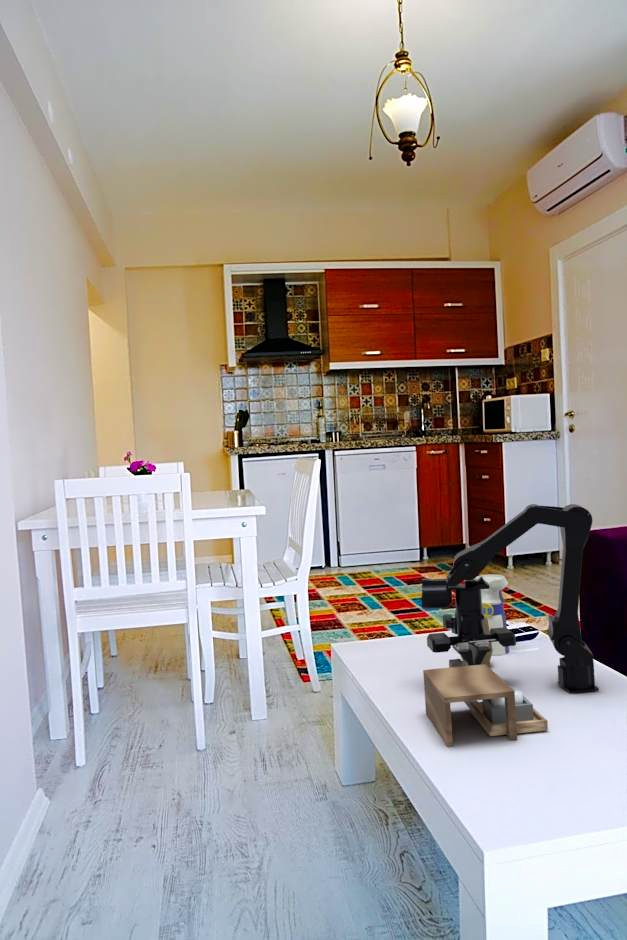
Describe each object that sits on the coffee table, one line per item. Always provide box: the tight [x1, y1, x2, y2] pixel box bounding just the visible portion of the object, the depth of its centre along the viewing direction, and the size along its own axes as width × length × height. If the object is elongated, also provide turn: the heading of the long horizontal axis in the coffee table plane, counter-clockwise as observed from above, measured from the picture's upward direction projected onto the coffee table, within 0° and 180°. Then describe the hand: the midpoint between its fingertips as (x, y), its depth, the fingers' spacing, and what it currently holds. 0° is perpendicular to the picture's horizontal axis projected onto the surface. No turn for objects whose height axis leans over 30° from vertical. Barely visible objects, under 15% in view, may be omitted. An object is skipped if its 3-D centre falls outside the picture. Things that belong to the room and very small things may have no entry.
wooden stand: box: [422, 664, 518, 748], centre depth 132 cm, size 13×16×9 cm
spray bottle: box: [474, 573, 510, 657], centre depth 177 cm, size 8×9×25 cm
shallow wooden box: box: [448, 658, 549, 737], centre depth 140 cm, size 11×27×6 cm, turn 5°
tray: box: [481, 689, 534, 724], centre depth 133 cm, size 8×6×4 cm
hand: (473, 677), depth 153 cm, fingers closed
